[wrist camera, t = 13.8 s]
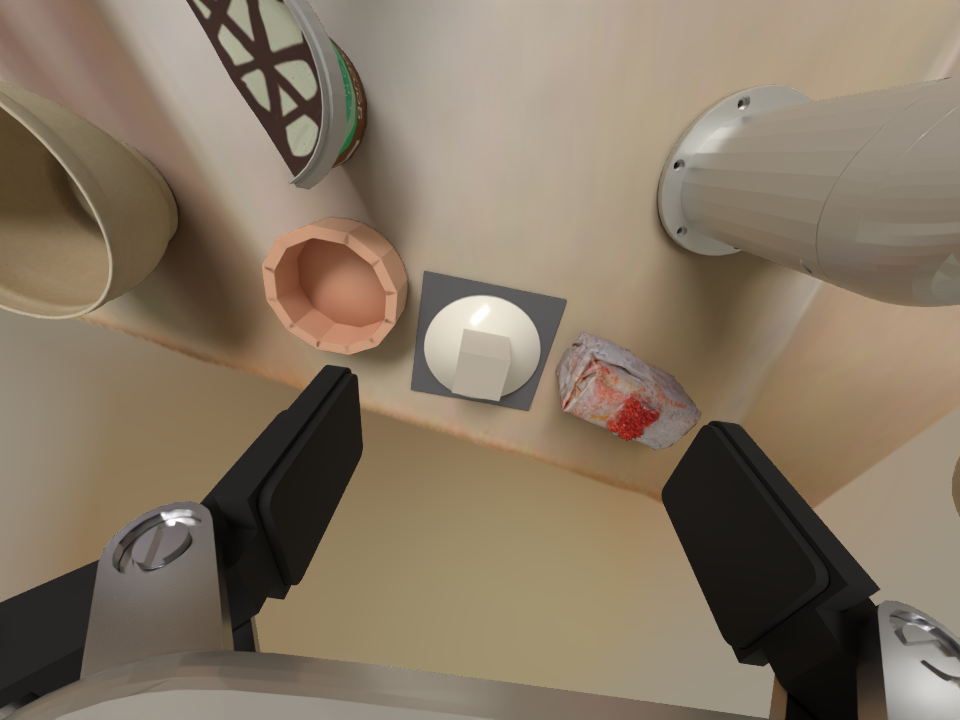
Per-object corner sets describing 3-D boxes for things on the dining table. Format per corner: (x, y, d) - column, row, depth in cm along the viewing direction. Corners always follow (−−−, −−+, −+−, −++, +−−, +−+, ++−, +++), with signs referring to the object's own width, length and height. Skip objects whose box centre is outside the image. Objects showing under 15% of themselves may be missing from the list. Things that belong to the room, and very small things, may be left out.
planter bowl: (250, 255, 35) (160, 292, 25) (125, 293, 37) (2, 339, 28) (130, 55, 27) (-65, 1, 18) (-17, 121, 30) (-254, 105, 20)
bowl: (413, 232, 33) (400, 243, 29) (403, 340, 39) (392, 362, 35) (286, 205, 32) (254, 213, 28) (297, 319, 38) (272, 340, 34)
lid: (554, 308, 36) (564, 332, 31) (522, 403, 42) (526, 435, 38) (432, 283, 35) (422, 304, 30) (419, 384, 42) (409, 415, 37)
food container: (409, 151, 29) (373, 148, 21) (350, 182, 31) (294, 192, 22) (323, -40, 24) (225, -151, 15) (255, 9, 25) (131, -67, 17)
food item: (541, 373, 41) (554, 430, 32) (578, 318, 37) (602, 366, 28) (636, 412, 43) (671, 474, 35) (679, 363, 39) (730, 420, 31)
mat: (566, 299, 36) (566, 301, 35) (528, 408, 43) (528, 410, 43) (424, 270, 35) (423, 271, 34) (411, 387, 42) (410, 389, 42)
